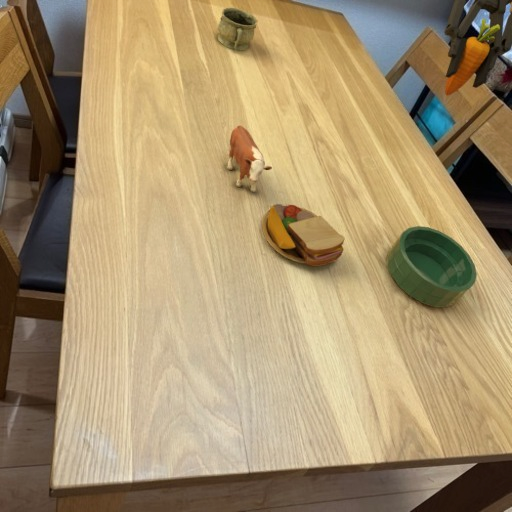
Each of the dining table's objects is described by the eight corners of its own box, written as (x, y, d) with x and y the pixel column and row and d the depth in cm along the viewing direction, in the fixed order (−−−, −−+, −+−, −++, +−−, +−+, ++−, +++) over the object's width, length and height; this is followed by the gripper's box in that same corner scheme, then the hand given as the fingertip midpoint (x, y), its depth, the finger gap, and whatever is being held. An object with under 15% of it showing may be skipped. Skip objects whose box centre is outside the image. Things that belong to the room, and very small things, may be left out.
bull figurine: (238, 206, 81) (252, 168, 75) (220, 153, 89) (231, 116, 83) (262, 207, 83) (277, 170, 77) (243, 155, 91) (255, 118, 85)
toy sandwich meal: (311, 207, 86) (321, 187, 83) (348, 267, 79) (360, 247, 76) (248, 213, 81) (256, 192, 77) (281, 277, 74) (292, 257, 70)
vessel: (252, 58, 117) (260, 32, 112) (216, 49, 114) (223, 23, 110) (248, 34, 124) (255, 9, 120) (214, 26, 122) (220, 0, 117)
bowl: (453, 259, 89) (469, 241, 85) (463, 319, 79) (483, 301, 76) (384, 236, 87) (397, 216, 84) (386, 294, 78) (402, 275, 74)
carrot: (432, 85, 99) (477, 11, 89) (454, 92, 100) (501, 19, 90) (438, 98, 96) (485, 22, 85) (460, 105, 97) (509, 31, 86)
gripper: (532, -13, 96) (495, 101, 96) (449, -46, 94) (412, 70, 95) (560, -33, 89) (520, 90, 89) (470, -70, 87) (429, 56, 87)
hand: (464, 79), depth 92 cm, fingers closed on carrot, 5 cm apart
